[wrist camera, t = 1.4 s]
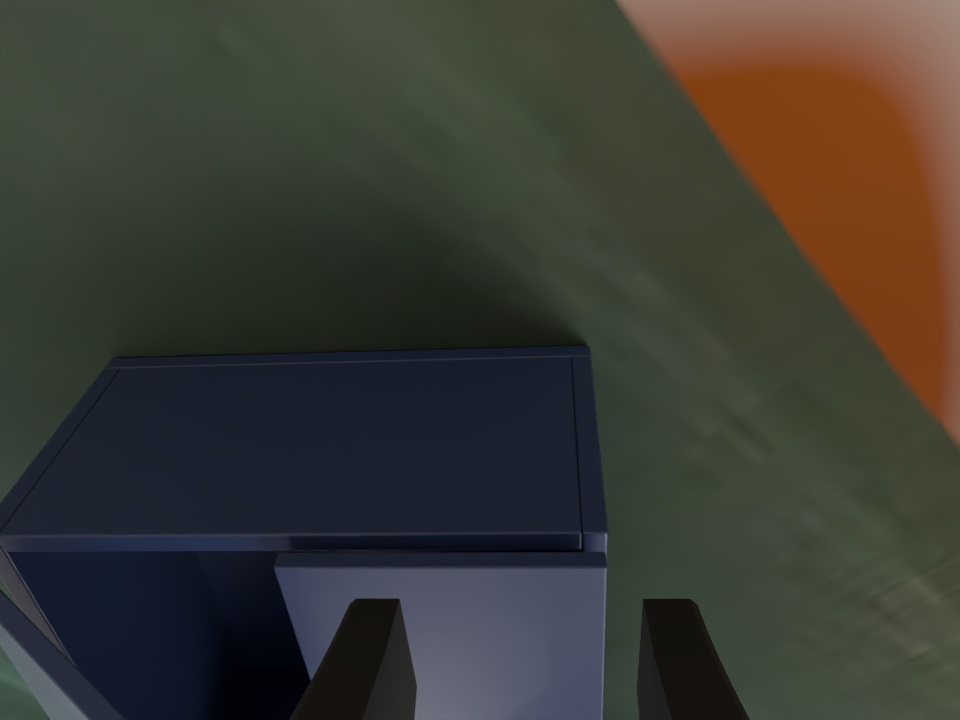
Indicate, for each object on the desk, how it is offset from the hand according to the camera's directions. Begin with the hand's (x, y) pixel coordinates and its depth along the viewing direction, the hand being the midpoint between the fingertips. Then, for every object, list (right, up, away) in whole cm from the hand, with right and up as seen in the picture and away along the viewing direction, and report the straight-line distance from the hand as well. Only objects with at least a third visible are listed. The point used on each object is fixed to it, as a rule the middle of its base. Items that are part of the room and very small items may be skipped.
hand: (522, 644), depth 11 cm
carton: (-4, -2, +14) cm, 15 cm away
